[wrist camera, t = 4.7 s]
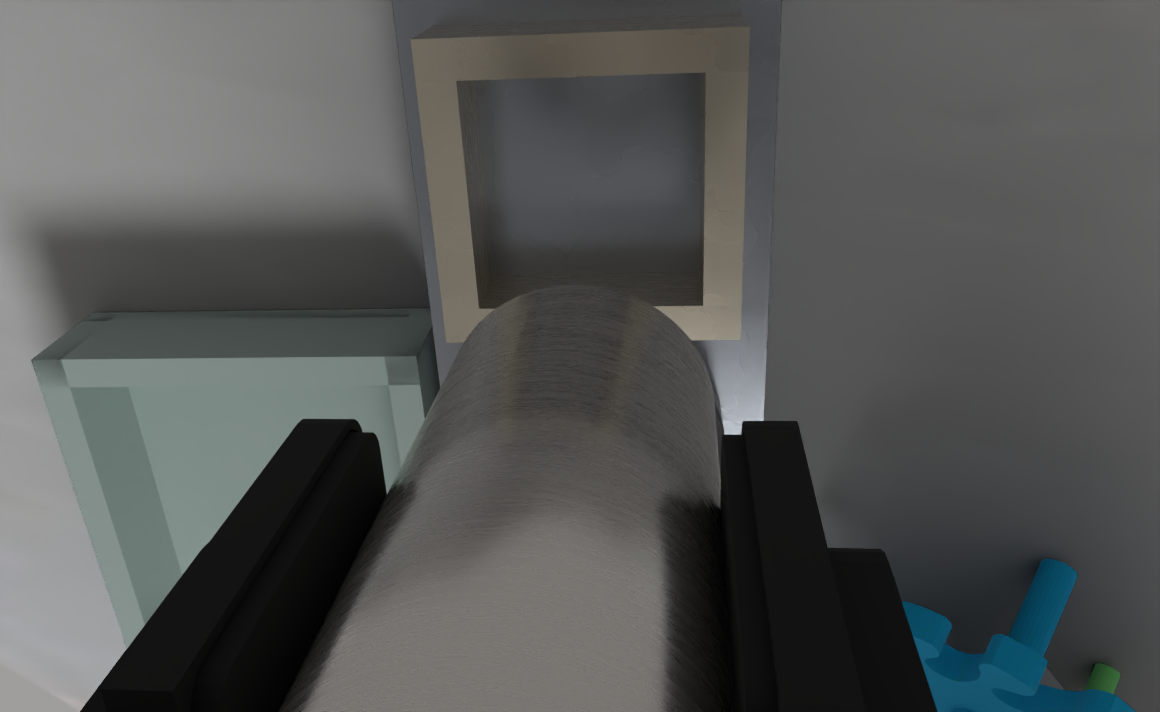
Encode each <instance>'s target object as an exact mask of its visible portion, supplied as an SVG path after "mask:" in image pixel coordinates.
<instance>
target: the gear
mask: <svg viewBox="0 0 1160 712" xmlns="http://www.w3.org/2000/svg"><path fill="white" fill-rule="evenodd" d="M1077 577H1078V575H1077V572H1076V571H1075V570H1074V569H1073V568H1071V567H1070V566H1068V565H1067V564H1065V563H1063V562H1060V561H1058V560H1054V559H1043V560H1042V561H1041V563H1040V565H1039V567H1038V570H1037V572H1036V574H1035V576H1034V579H1033V581H1032V583H1031V586H1030V588H1029V590H1028V592H1027V595H1026V597H1025V599H1024V601H1023V604H1022V606H1021V608H1020V610H1019V613H1018V615H1017V617H1016V619H1015V622H1014V624H1013V626H1012V629H1011V631H1010V633H1009V635H1008V636H1006V635H1003V634H995V635H993V636H992V638H991V640H990V642H989V645H988V647H987V649H986V651H985V653H982V654H967V653H964V652H961V651H958V650H956V649H954V648H952V647H951V646H949V645H947V644H946V643H945V642H946V640H947V637H948V635H949V633H950V631H951V629H952V624H951V623H950V621H949V620H948V619H947V618H946V617H944V616H942V615H940V614H938V613H936V612H934V611H932V610H929V609H927V608H924V607H921V606H919V605H916V604H913V603H910V602H906V601H903V602H902V604H903V607H904V610H905V613H906V616H907V620H908V623H909V626H910V629H911V632H912V635H913V638H914V641H915V644H916V647H917V650H918V653H919V656H920V659H921V662H922V665H923V669H924V672H925V675H926V678H927V681H928V684H929V687H930V690H931V693H932V696H933V699H934V702H935V705H936V708H937V711H938V712H1135V711H1134V710H1133V709H1132V708H1131V707H1130V706H1129V705H1128V704H1126V703H1125V702H1124V701H1123V700H1121V699H1120V698H1119V697H1118V696H1116V695H1114V691H1115V689H1116V686H1117V683H1118V681H1119V678H1120V676H1121V675H1120V673H1119V672H1118V671H1117V670H1115V669H1114V668H1112V667H1110V666H1107V665H1104V664H1100V663H1097V664H1095V666H1094V669H1093V671H1092V674H1091V676H1090V679H1089V681H1088V684H1087V686H1086V689H1085V691H1067V690H1064V689H1063V687H1062V686H1061V685H1060V684H1059V682H1058V681H1057V680H1056V678H1055V677H1054V676H1053V674H1052V673H1051V672H1050V670H1049V669H1048V668H1047V664H1048V660H1046V659H1045V658H1043V657H1044V655H1045V653H1046V650H1047V648H1048V646H1049V643H1050V641H1051V639H1052V636H1053V634H1054V631H1055V629H1056V627H1057V624H1058V622H1059V620H1060V617H1061V615H1062V612H1063V610H1064V608H1065V605H1066V603H1067V601H1068V598H1069V596H1070V593H1071V591H1072V589H1073V586H1074V584H1075V582H1076V579H1077Z"/></svg>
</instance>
